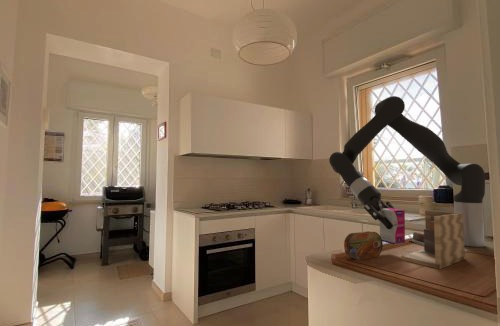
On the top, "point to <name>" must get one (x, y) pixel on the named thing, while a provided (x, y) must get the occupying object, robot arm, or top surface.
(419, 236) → the packaged product
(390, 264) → the top surface
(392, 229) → the supplement box
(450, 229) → the wooden bookend
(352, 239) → the tin
